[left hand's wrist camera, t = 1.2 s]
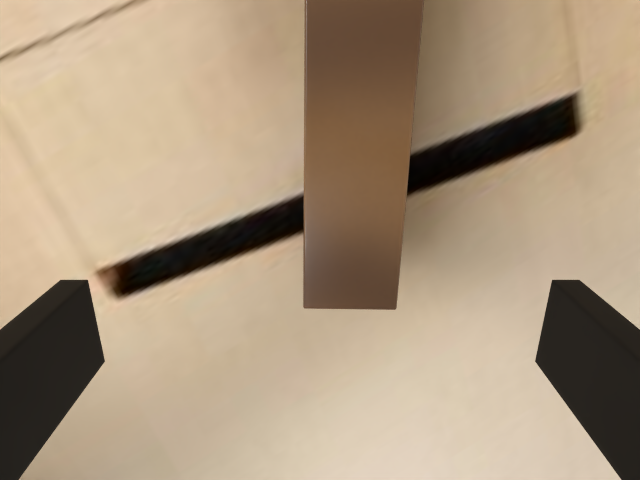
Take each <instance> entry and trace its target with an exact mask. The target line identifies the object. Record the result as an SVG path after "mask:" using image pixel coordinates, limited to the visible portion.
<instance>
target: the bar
mask: <svg viewBox="0 0 640 480" xmlns="http://www.w3.org/2000/svg"><path fill="white" fill-rule="evenodd" d="M423 6H424V0H305V77H304V280H303V307H304V308H317V309H388V310H395V309H396V307H397V296H398V285H399V274H400V262H401V251H402V240H403V229H404V218H405V207H406V196H407V185H408V173H409V162H410V151H411V140H412V129H413V118H414V107H415V95H416V84H417V73H418V62H419V51H420V40H421V29H422V17H423Z"/></svg>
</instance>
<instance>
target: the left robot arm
mask: <svg viewBox="0 0 640 480" xmlns="http://www.w3.org/2000/svg"><path fill="white" fill-rule="evenodd" d="M104 362H105V360H104V355H103V351H102V346H101V341H100V336H99V331H98V326H97V322H96V317H95V312H94V307H93V302H92V298H91V293H90V288H89V283H88V280H60V281H59V282H58V283H56V284H55V285H54V286H53V287H52V288H50V289H49V290H48V291H47V292H45V293H44V294H43V295H42V296H41V297H39V298H38V299H37V300H36V301H35V302H33V303H32V304H31V305H30V306H28V307H27V308H26V309H25V310H24V311H22V312H21V313H20V314H19V315H18V316H16V317H15V318H14V319H13V320H11V321H10V322H9V323H8V324H7V325H5V326H4V327H3V328H2V329H1V330H0V480H19V478H20V477H21V475H22V474H23V473H24V471H25V470H26V469H27V467H28V466H29V464H30V463H31V462H32V460H33V459H34V458H35V456H36V455H37V454H38V452H39V451H40V449H41V448H42V447H43V445H44V444H45V443H46V441H47V440H48V438H49V437H50V436H51V434H52V433H53V432H54V430H55V429H56V427H57V426H58V425H59V423H60V422H61V421H62V419H63V418H64V417H65V415H66V414H67V412H68V411H69V410H70V408H71V407H72V406H73V404H74V403H75V401H76V400H77V399H78V397H79V396H80V395H81V393H82V392H83V390H84V389H85V388H86V386H87V385H88V384H89V382H90V381H91V380H92V378H93V377H94V375H95V374H96V373H97V371H98V370H99V369H100V367H101V366H102V364H103V363H104ZM535 362H536V363H537V364H538V366H539V367H540V369H541V370H542V371H543V373H544V374H545V375H546V377H547V378H548V380H549V381H550V382H551V384H552V385H553V386H554V388H555V389H556V390H557V392H558V393H559V395H560V396H561V397H562V399H563V400H564V401H565V403H566V404H567V406H568V407H569V408H570V410H571V411H572V412H573V414H574V415H575V417H576V418H577V419H578V421H579V422H580V423H581V425H582V426H583V427H584V429H585V430H586V432H587V433H588V434H589V436H590V437H591V438H592V440H593V441H594V443H595V444H596V445H597V447H598V448H599V449H600V451H601V452H602V454H603V455H604V456H605V458H606V459H607V460H608V462H609V463H610V464H611V466H612V467H613V469H614V470H615V471H616V473H617V474H618V475H619V477H620V478H621V480H640V330H639V329H638V328H637V327H636V326H635V325H633V324H632V323H631V322H630V321H629V320H627V319H626V318H625V317H624V316H622V315H621V314H620V313H619V312H618V311H616V310H615V309H614V308H613V307H612V306H610V305H609V304H608V303H607V302H605V301H604V300H603V299H602V298H601V297H599V296H598V295H597V294H596V293H595V292H593V291H592V290H591V289H590V288H588V287H587V286H586V285H585V284H584V283H582V282H581V281H580V280H552V283H551V288H550V293H549V298H548V302H547V307H546V312H545V317H544V322H543V326H542V331H541V336H540V341H539V346H538V351H537V355H536V360H535Z"/></svg>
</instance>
